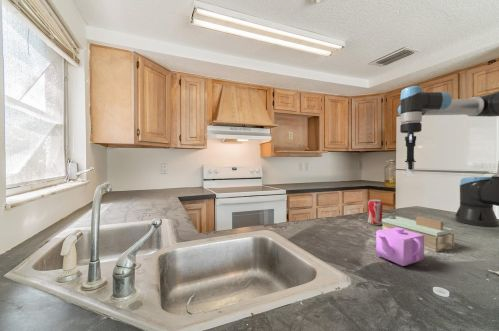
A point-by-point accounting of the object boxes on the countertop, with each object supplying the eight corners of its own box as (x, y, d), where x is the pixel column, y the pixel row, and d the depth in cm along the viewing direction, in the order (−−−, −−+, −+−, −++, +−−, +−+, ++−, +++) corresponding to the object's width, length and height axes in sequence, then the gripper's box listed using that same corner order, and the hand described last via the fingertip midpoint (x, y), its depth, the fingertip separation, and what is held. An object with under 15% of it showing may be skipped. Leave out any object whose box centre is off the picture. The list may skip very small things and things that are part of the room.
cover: (381, 221, 94) (381, 211, 94) (396, 219, 98) (396, 209, 98) (437, 236, 76) (437, 224, 76) (452, 232, 80) (453, 221, 80)
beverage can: (370, 225, 106) (370, 201, 106) (366, 222, 112) (366, 198, 112) (384, 226, 105) (384, 201, 105) (379, 222, 111) (379, 199, 111)
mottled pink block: (400, 275, 60) (400, 239, 60) (357, 255, 73) (357, 225, 72) (438, 263, 67) (438, 230, 67) (392, 247, 80) (393, 219, 80)
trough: (398, 231, 97) (398, 220, 97) (453, 248, 79) (453, 234, 78) (382, 234, 94) (382, 222, 94) (435, 252, 75) (435, 237, 75)
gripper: (400, 126, 103) (400, 175, 104) (399, 122, 93) (399, 177, 93) (421, 124, 99) (420, 176, 99) (422, 120, 88) (421, 178, 89)
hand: (410, 176), depth 96 cm, fingers closed
